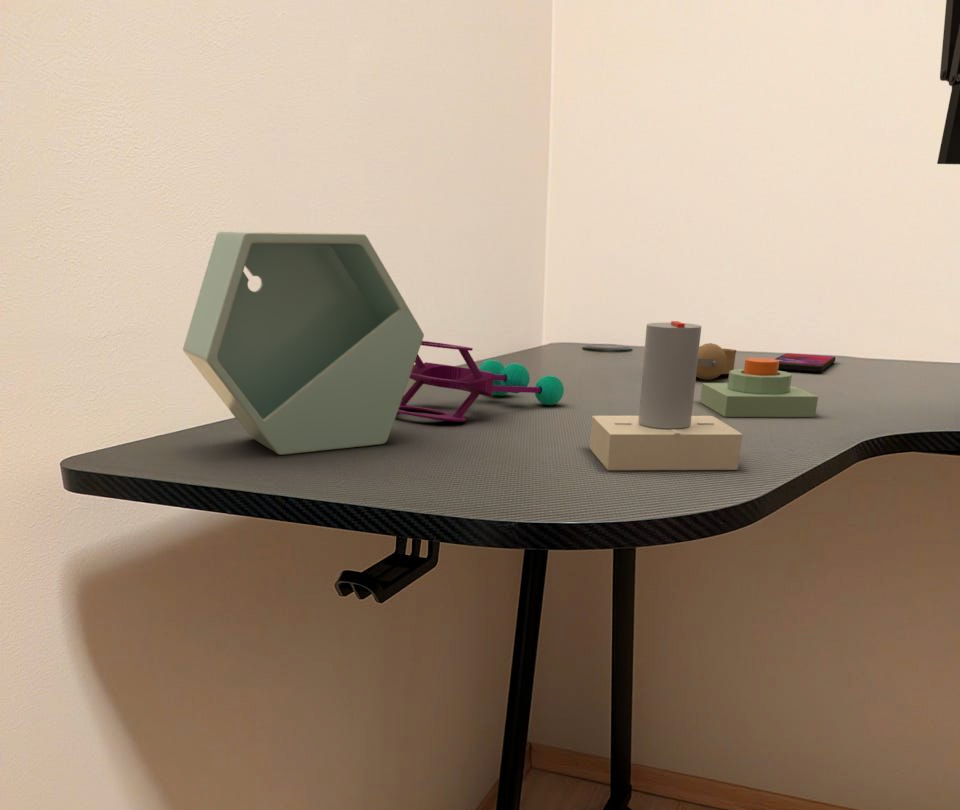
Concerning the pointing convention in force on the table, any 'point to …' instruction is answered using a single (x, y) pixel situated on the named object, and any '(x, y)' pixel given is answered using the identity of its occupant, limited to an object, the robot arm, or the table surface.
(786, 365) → the smartphone
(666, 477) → the table surface
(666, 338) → the cylinder
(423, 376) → the purple framed piece
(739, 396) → the button block
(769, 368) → the button
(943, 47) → the robot arm
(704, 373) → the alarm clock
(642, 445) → the dial panel
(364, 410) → the planter
